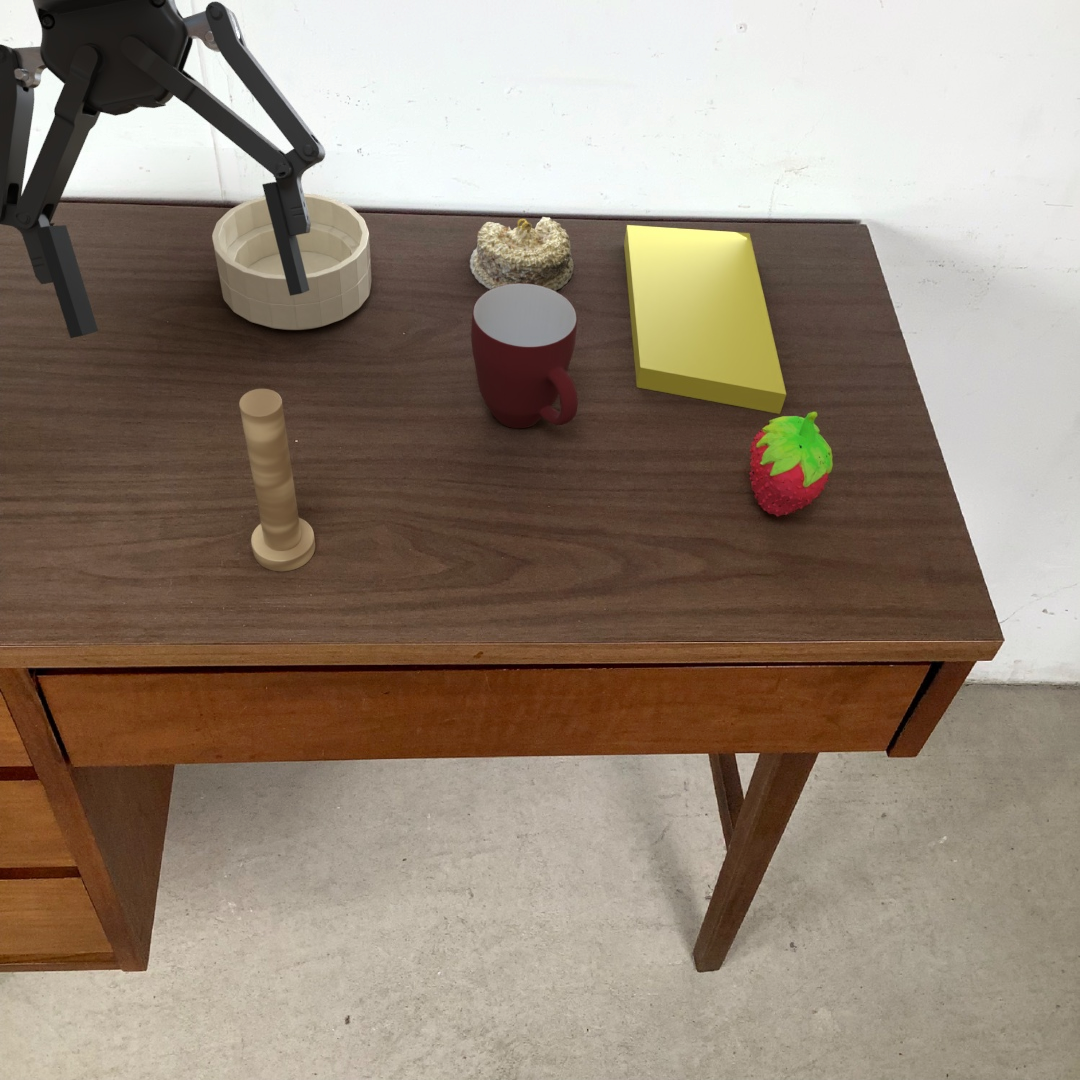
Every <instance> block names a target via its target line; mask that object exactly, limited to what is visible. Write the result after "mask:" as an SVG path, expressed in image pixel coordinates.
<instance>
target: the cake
mask: <svg viewBox="0 0 1080 1080" xmlns="http://www.w3.org/2000/svg"><path fill="white" fill-rule="evenodd" d="M522 222H523V223H522ZM521 223H522V224H521ZM520 224H521V225H520ZM476 239H477V240H476V243H477V245H476V247H475V249H473V252H472V254H471V255H470V259H469V269H470V271H471V274H472V275H473V276H474V278H475V279H476V281H478V283H479V284H481V285H483V286H484V287H485V288H486V289H488V290H490V289H493V288H495V287H498V286H502V285H506V284H514V283H527V284H535V285H540V286H543V287H547V288H549V289H552V290H554V291H556V292H557V290H559V289H560V290H561V289H562V288H563V287H564V286H565V285H566V284H568V281H569V280H571V278H572V274H573V273H574V267H575V263H574V259H572V252H571V241H570V239H571V238H570V237H569V234H567V230H566V229H565V228H562V227H561V223H558V222H557V221H555V220H552V218H551V217H546V216H542V217H541V219H540V220H539V222H537V223H536V225H535V228H533V225H532V223H530V222H528V221H527V219H526V218H520V219H518V220H517V226H516V227H514V228H513V229H512V228H511V227H510V226H508V227H507V226H505V225H503V224H501V223H499V222H496V223H495V222H491V221H486V222H485V223H484V224H483V225H482V226H481V228H480V229H479V230H478V231H477V236H476Z"/></svg>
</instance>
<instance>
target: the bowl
mask: <svg viewBox="0 0 1080 1080" xmlns="http://www.w3.org/2000/svg"><path fill="white" fill-rule="evenodd" d="M303 193H304V192H303ZM304 197H305V201H306V206H307V210H308V214H309V218H310V222H311V226H310V233H305V234H300V235H296V237H297V241H298V245H299V249H300V253H301V257H302V261H303V265H304V269H305V273H306V278H307V282H308V286H309V291H307V292H304V293H302V294H297V295H291V296H290V294H289V290H288V286H287V282H286V278H285V274H284V270H283V266H282V262H281V258H280V254H279V250H278V246H277V242H276V238H275V234H274V230H273V226H272V222H271V218H270V214H269V210H268V206H267V202H266V198H265V195H262V196H259V197H255V198H252V199H249V200H245V201H244V202H242V203H240V204H238V205H236V206H234V207H233V208H231V209H229V210H227V212H226V213H225V214H223V216H222V217H221V218H220V219H218V221H217V222H216V224H215V226H214V229H213V231H212V235H211V240H212V244H213V245H212V246H213V250H214V255H215V261H216V262H215V263H216V266H217V272H218V278H219V282H220V283H219V284H220V290H221V293H222V298H223V300H224V302H225V303H226V304H227V306H228V307H229V308H230V309H231V310H232V311H233V313H235V314H236V315H238V316H240V317H241V318H243V319H245V320H247V321H248V322H249V323H254V324H257V325H261V326H264V327H267V328H271V329H277V330H286V331H305V330H313V329H317V328H322V327H325V326H328V325H330V324H333V323H336V322H339V321H341V320H344V319H345V318H347V317H348V316H350V315H352V314H353V313H354V312H356V311H358V310H359V309H360V308H361V307H362V306H363V304H364V303H365V301H366V300H367V299H368V298H369V296H370V293H371V287H372V281H373V279H372V262H371V246H370V243H371V242H370V231H369V229H368V226H367V224H366V223H367V222H366V221H365V219H364V217H362V216H361V214H359V213H358V212H357V211H356V210H355V209H354V208H353V207H352V206H349V205H347V204H345V203H343V202H341V201H339V200H338V199H335V198H331V197H329V196H323V195H318V194H316V193H315V194H314V193H306V192H305V193H304Z"/></svg>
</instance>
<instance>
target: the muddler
mask: <svg viewBox="0 0 1080 1080" xmlns="http://www.w3.org/2000/svg"><path fill="white" fill-rule="evenodd" d="M238 406H239V413H240V416H241V423H242V429H243V433H244V439H245V444H246V448H247V449H246V450H247V456H248V460H249V465H250V466H249V467H250V470H251V476H252V477H251V478H252V482H253V488H254V494H255V498H256V504H257V509H258V510H257V511H258V515H259V520H260V523H259V524H258V525H257V526H256V527H255V529H254V530H253V532H252V535H251V538H250V543H251V544H250V545H251V549H252V554H253V557H254V559H255V561H256V562H257V563H258V564H259V565H260V566H262V567H263V568H265V569H266V570H270V571H273V572H289V571H294V570H296V569H299V568H301V567H303V566H304V565H306V564H307V563H308V562H309V561H310V560H311V559H312V557H313V556H314V553H315V551H316V539H315V533H314V529H313V527H312V526H311V525H310V524H309V522H307V520H305V519H303V518H301V517H299V511H298V504H297V496H296V490H295V489H296V488H295V483H294V476H293V468H292V461H291V456H290V455H291V454H290V448H289V440H288V435H287V433H288V432H287V425H286V420H285V419H286V418H285V414H284V406H283V399H282V397H281V396H280V394H279V393H278V392H276V391H275V390H272V389H269V388H255V389H252V390H249V391H248V392H246V393H244V394H243V395H242V396H241V397H240V399H239V402H238Z"/></svg>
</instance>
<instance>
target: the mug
mask: <svg viewBox="0 0 1080 1080" xmlns="http://www.w3.org/2000/svg"><path fill="white" fill-rule="evenodd" d="M471 311H472V312H471V326H470V327H471V328H470V329H471V330H470V341H471V351H472V356H473V361H474V367H475V370H476V371H475V373H476V377H477V382H478V383H477V384H478V388H479V392H480V394H481V397H482V399H483V401H484V403H485V404H486V406H487V408H488V409H489V411H490V412H491V413H492V415H493V417H494V418H495V419H496V421H498V422H499V423H500V424H501V425H503V426H506V427H508V428H512V429H525V428H529V427H532V426H534V425H536V424H537V423H539V421H540V420H541V419H542V418H543V419H544V420H545V421H547V422H548V423H549V424H552V425H555V426H562V425H566V424H568V423H570V422H571V421H572V420H574V418H575V417H576V415H577V412H578V407H579V399H578V393H577V388H576V386H575V383H574V381H573V378H572V377H571V376H570V375H569V373H568V370H569V366H570V364H571V361H572V358H573V354H574V350H575V347H576V338H577V331H578V330H577V329H578V313H577V310H576V308H575V307H574V305H573V303H572V301H570V300H569V299H568V298H567V297H565V295H563V294H561V293H560V292H558V291H557V290H556V291H554V290H552V289H549V288H547V287H543V286H540V285H535V284H527V283H514V284H506V285H502V286H498V287H495V288H493V289H488V290H487V291H485V292H484V293H482V294H481V295H480V296H479V297H478V298H477V299H476V301H475V303H473V307H472V310H471ZM558 397H559V401H560V402H559V403H560V411H558V410H556V409H555V408H553V406H554V404H555V403H556V401H557V399H558Z"/></svg>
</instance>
